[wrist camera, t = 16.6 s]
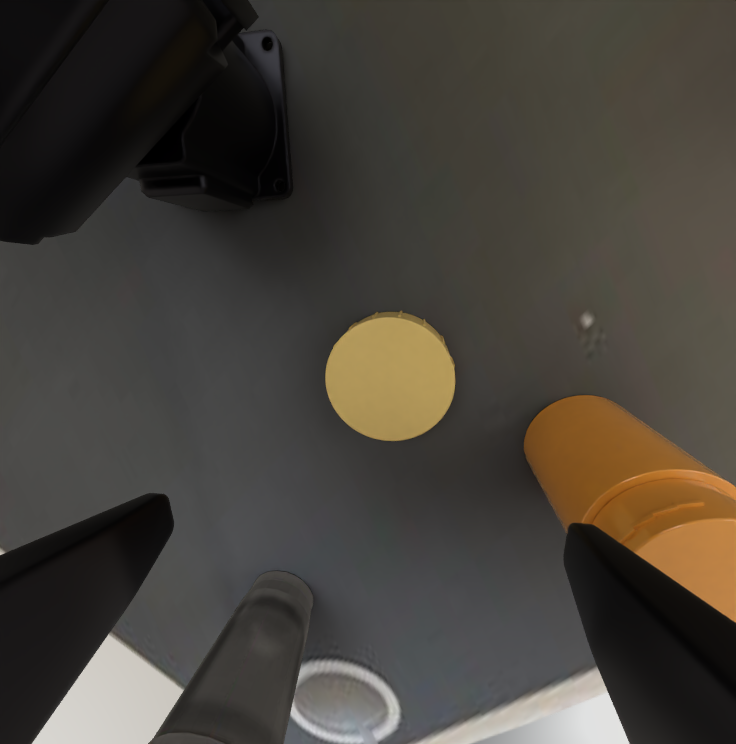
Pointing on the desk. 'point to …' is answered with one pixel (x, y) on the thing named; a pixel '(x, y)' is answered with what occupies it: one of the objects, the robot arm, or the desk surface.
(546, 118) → the desk surface
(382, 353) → the honey lid
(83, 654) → the robot arm
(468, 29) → the desk surface
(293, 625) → the beverage cup
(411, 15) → the desk surface
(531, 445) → the honey jar
